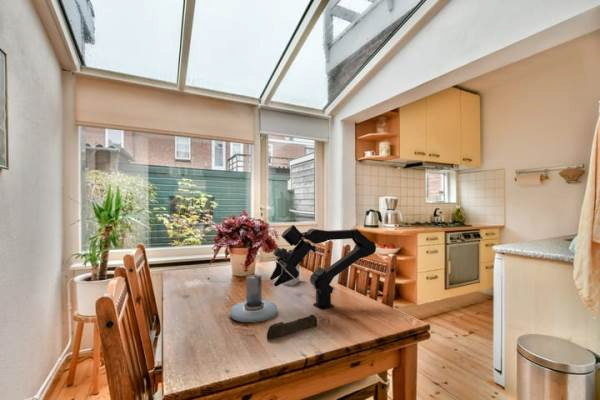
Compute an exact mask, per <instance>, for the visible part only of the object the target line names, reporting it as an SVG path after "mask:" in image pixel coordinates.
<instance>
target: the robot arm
mask: <svg viewBox="0 0 600 400" xmlns="http://www.w3.org/2000/svg"><path fill="white" fill-rule="evenodd" d="M281 238H283V239H284V241H286V243H288V244H289V245H290V246H292V247H293V246H294V248H293V249H289V250H288V249H286V248H284V247H282V248H280V247H277V246H276V247H275V248H274V251H273V253H272V254H273V256H275V257H276V258H275V260H276V261H275V267H274V269H273V271H272V273H271V276H270V277H269V280H270V281H273V280H275V282H274V284H273V286H274V287H278V286H280V285H282V284H283V283H285V282H287V281H290V280H292V279H294V278H295V279H296V278H297V277H298V276H299V271H298V270H296V269H297V268H296V266H297V265H298V264H299V265H300V263H303V262H304V258H305V257H307V255H308V254H309V253H310V252H313V253H316V252H317V249H316V248H317V247H316V245H317V244H320V243H326V242H327V241H331V240H332V241H333V240H350V239H351V240H352V241H353V243H354V244H355V245H354V247H353V249H352V250H351V251H350V252H348V254H347V253H346V254H345V255H343V256H342V257H341V258H340V259H338V260H336V261H335V262H334V263H333V264H331V265H330V266H328V267H327V268H322V267H321V266H320V268H317V269H316V270H315V271H312V274H311V275H310V277H309V282H310V284H311V285H312V287H314V289H315V303H314V302H313V304H312V305H313V306H314V307H316V308H319V309H320V310H325V309H328V308H333V307H334V306H335V305H334V304H332V299H331V298H332V297H331V296H332V293H333V291H334V288H333V287H332V286H331V285H330V284H331V283H332V281H333V279H334V278H335V277H336V276H338V275H339V274H341V273H342V272H343V271H345V270H346V269H348V268H349V267H350V266H352V265H353V264H355V263H356V262H357V261H359V260H360V259H363V258H367V257H370V256H372V255H374V254H376V251H377V245H376V243H375V242H374V241H372V240H370V238H368V237H366V236H365V235H364V234H363V233H361V231H360V230H359V229H355V228H351V229H335V230H325V229H318V228H310V229H308V230H307V231H304V232H301V231H300V230H299V229H298V228H297V227H296V226H295V225H294V224H292V225H291V226H289V227H287V228H286V229H285V230H284V231H283V232H282V234H281ZM305 240H306V241H305ZM311 243H313V244H311ZM314 244H316V245H314ZM284 268H285V269H284ZM293 277H294V278H293Z"/></svg>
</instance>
